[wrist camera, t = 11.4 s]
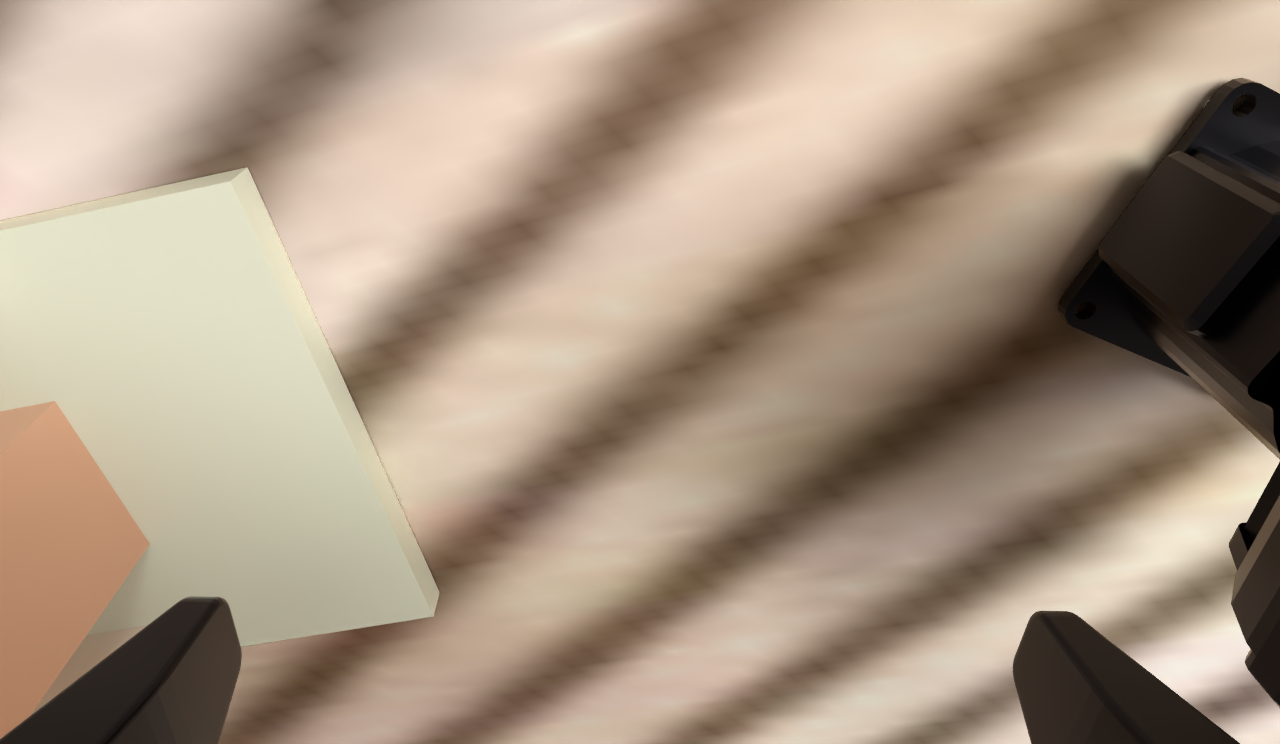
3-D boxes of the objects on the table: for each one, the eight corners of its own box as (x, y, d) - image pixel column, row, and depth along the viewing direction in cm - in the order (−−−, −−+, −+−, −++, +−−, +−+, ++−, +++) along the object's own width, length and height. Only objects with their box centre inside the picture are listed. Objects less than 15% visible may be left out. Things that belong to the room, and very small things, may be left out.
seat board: (247, 167, 20) (168, 231, 17) (439, 592, 27) (412, 698, 24) (-356, 297, 22) (-541, 380, 18) (-26, 667, 29) (-115, 777, 25)
